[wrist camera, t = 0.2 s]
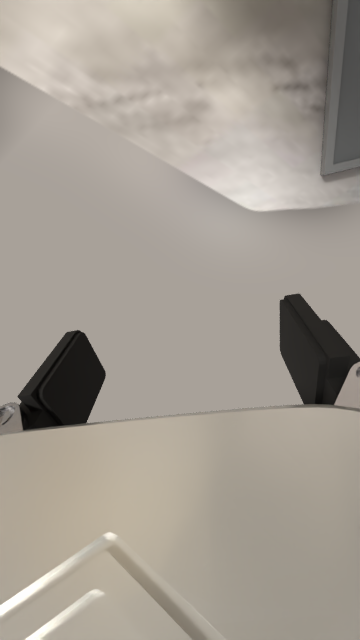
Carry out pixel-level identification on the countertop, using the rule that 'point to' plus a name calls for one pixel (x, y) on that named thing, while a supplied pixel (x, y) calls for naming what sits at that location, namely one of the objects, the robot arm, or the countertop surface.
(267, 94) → the countertop surface
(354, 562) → the robot arm
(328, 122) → the grey rectangular tray
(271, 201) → the countertop surface
